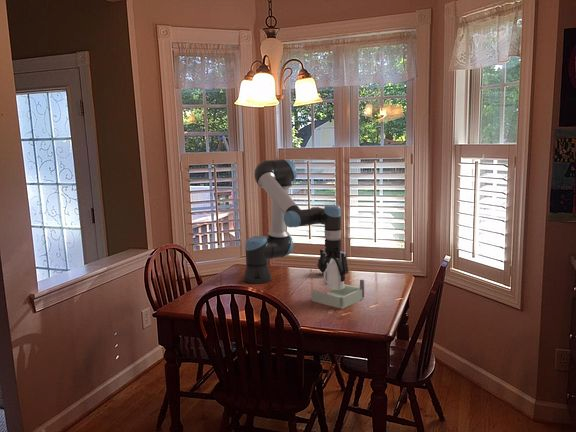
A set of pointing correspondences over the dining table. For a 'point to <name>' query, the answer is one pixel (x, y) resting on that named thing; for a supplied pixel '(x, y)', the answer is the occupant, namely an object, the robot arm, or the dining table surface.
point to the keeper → (340, 296)
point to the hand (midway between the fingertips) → (333, 286)
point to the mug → (332, 276)
